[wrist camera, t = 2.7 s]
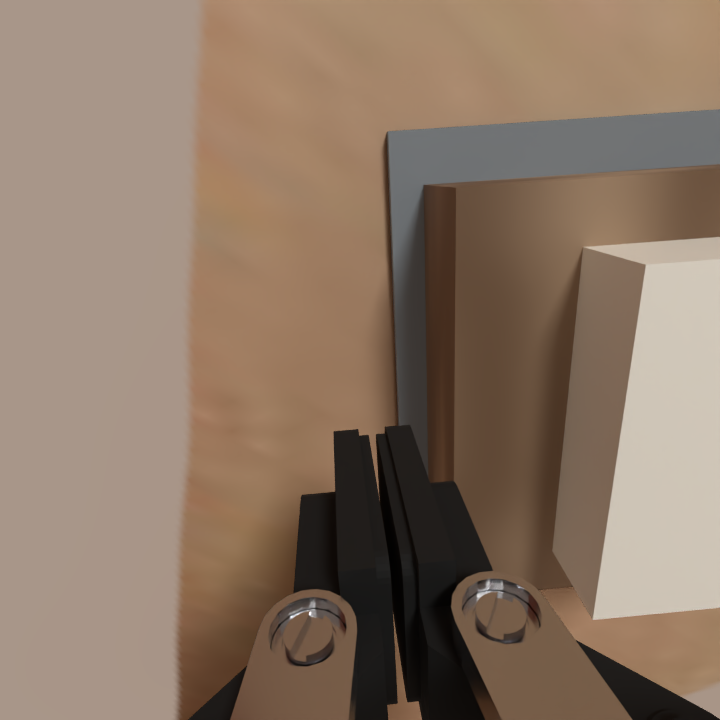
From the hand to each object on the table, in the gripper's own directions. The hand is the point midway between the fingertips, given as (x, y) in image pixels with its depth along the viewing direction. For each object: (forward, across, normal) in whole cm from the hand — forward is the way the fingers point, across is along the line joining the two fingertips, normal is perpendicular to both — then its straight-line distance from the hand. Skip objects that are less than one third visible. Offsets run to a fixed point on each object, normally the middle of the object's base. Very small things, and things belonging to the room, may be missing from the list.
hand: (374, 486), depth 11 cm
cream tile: (+2, -8, 0) cm, 9 cm away
